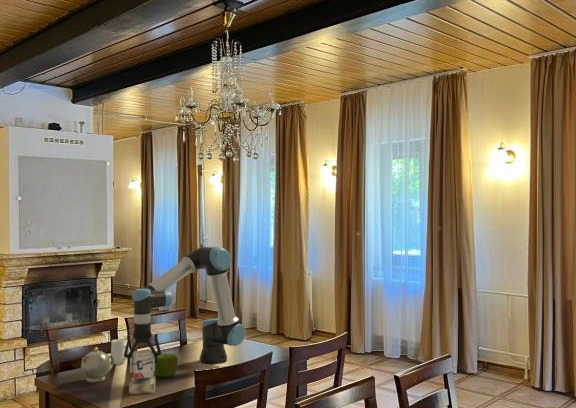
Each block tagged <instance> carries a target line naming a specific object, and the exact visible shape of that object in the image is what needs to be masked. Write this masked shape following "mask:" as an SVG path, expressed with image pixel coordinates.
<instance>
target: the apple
mask: <svg viewBox="0 0 576 408" xmlns="http://www.w3.org/2000/svg"><path fill="white" fill-rule="evenodd" d="M178 360H179V357H178V356H177V355H176V354H174V353H161V355H159V356H157V363H156V364H155V371H153V373H154V374H155V375H154V376H157V377H159V378H162V379H163V378H164V379H165V378H166V379H167V378H172V377H173V376H174V375H175V374H176V373H177V369H178V362H179V361H178Z"/></svg>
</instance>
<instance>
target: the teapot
mask: <svg viewBox="0 0 576 408" xmlns="http://www.w3.org/2000/svg"><path fill="white" fill-rule="evenodd" d="M114 365H115V364H114V358H113V356H112V355H111V353H106V352H104V351H101V350H99V348H98V347H97V346H95V347H93V350H92V351H90V352H88V353H87V354H86V355H85V356H84V357H82V360H81V365H80V368H81V371H82V374H83V375H84V376H85V377H86V382H87V383H89V384H97V383H98V382H99V383H103V382H104V381H105V380H106V375H108V373H109V372H110V371H112V370H113V368H114ZM99 383H98V384H99Z"/></svg>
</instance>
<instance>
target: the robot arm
mask: <svg viewBox="0 0 576 408" xmlns="http://www.w3.org/2000/svg"><path fill="white" fill-rule="evenodd" d="M231 264H232V257H231V255H230V253H229V251H228V250H227V249H226V248H222V247H220V246H219V247H217V246H216V247H215V246H213V247H212V246H202V247H198V248H196V249H194V250H192V251H191V252H189V253H188V254H186V255H185V256H183V257H182V258H181V261H179V262H178V263H177V264H175V265H174V266H172V267H171V268H170V269H168V270H167V271H165V272H164V273H163V274H162V275H160V276H158V277H157V278H155V279H154V280H153V281H151V282H150V283H148V284H147V285H146V286H144V287H143V288H136V289H135V290H134V291H133V292H132V295H131V299H132V301H133V322H134V324H133V334H128V335H127V336H126V348H125V352H124V357H127V358H128V359H127V365H128V366H129V372H130V373H131V374H132V353H133V352H134V351H135V349H136V348H137V346H138V344H147V346H148V348H149V350H151V351H152V353H153V372H154V371H155V364H156V363H157V356H159V355H161V354H162V350H161V346H160V344H159V343H160V342H159V339H158V333H152V330H151V329H152V327H151V324H152V323H151V319H152V318H151V317H152V315H151V310H152V309H156V308H163V307H164V308H165V307H168V306H171V304H172V303H173V301H174V299H173V293H172V291H170V290H168V289H169V288H171V287H173V285H175V284H176V283H177V282H179V281H180V280H182V279H183V278H184V277H186V276H187V275H189V274H190V273H191V274H193V273H195V272H196V271H198V270H205V272H206V276H207V277H209V278H210V281H211V287H212V291H213V296H214V301H215V306H216V309H217V315H218V317H216V318H208V319H205V320H203V321H202V349H201V352H200V355H199V363H201V364H206V365H207V364H208V365H217V364H223V363H225V362H227V361H228V354H227V351H226V348H225V345H226V346H229V347H230V346H231V347H232V346H233V347H237V346H239V345H241V344H242V342H243V341H244V339H245V338H246V332H247V331H246V328H245V326H244V325H243V323H240V319H239V317H238V316H236V314H235V309H234V305H233V299H232V295H231V289H230V285H229V279H228V272H229V271H230V270H229V268H230V267H231ZM151 338H152V339H153V340H154V343H155V347H156V349H155V348H154V345H153V343H152V342H151V340H150V339H151ZM132 339H134V340H135V342H134V344H133V346H132V347H131V349H130V347H129V346H130V343H131V340H132ZM128 348H129V349H130V353H129V354H127V352H128ZM156 350H157V351H156Z"/></svg>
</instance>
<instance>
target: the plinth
mask: <svg viewBox="0 0 576 408" xmlns="http://www.w3.org/2000/svg"><path fill="white" fill-rule="evenodd" d="M156 376H157V375H153V377H147V378H141V379H134V378H133V377H131V379H130V381H129V384H128V394H129V395H136V394H137V395H139V394H154V393H155V390H156V385H157V381H156V380H157V379H156Z"/></svg>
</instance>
